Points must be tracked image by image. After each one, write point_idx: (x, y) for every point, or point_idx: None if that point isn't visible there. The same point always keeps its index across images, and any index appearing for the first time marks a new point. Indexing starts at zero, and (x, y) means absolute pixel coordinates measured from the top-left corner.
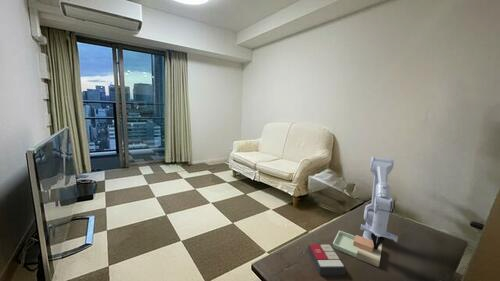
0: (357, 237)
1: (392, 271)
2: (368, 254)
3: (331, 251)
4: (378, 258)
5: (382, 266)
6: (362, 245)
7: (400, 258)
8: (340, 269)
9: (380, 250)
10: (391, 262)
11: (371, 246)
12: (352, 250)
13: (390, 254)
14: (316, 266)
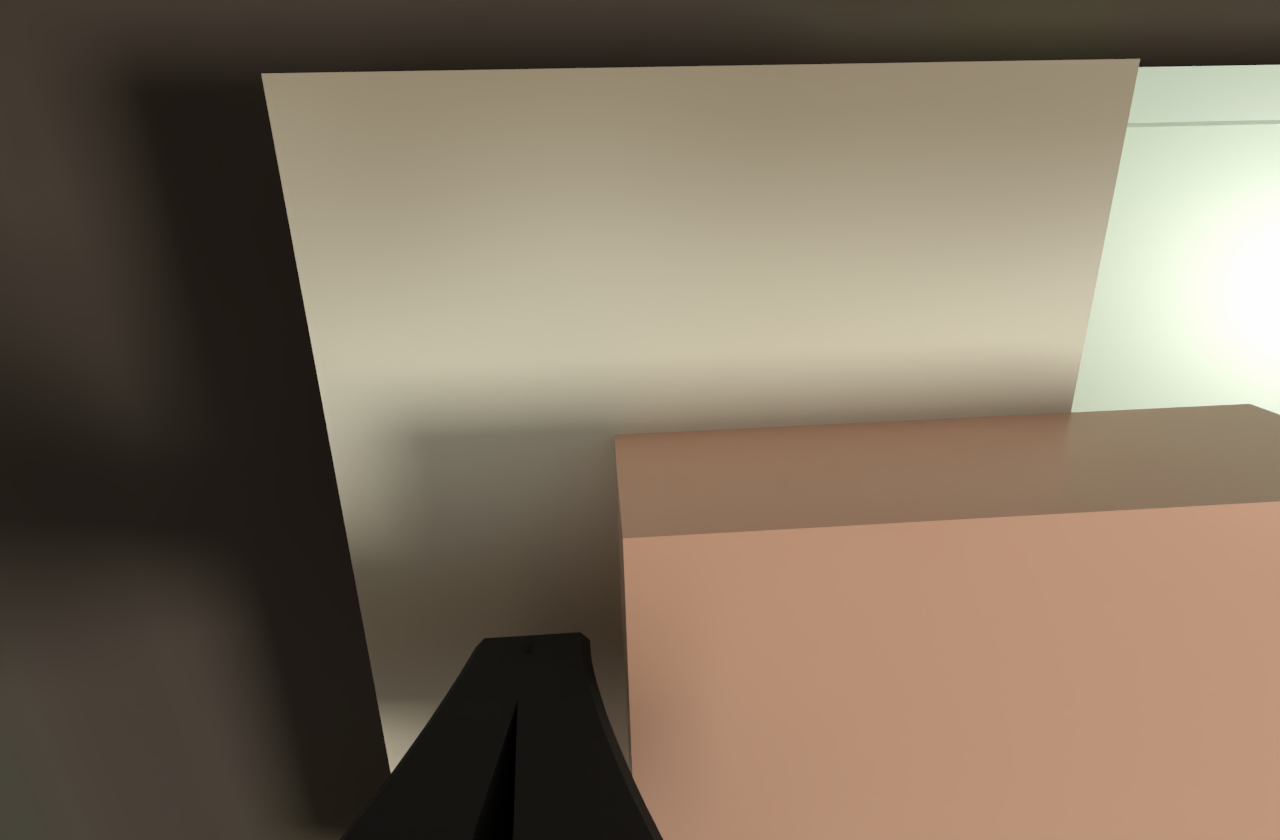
0: (1261, 828)
1: (5, 199)
2: (716, 244)
3: None
4: (351, 251)
5: (283, 232)
6: (1046, 483)
7: (53, 834)
8: None
9: (407, 744)
10: (155, 568)
11: (695, 624)
12: (1107, 344)
13: (262, 825)
14: None
